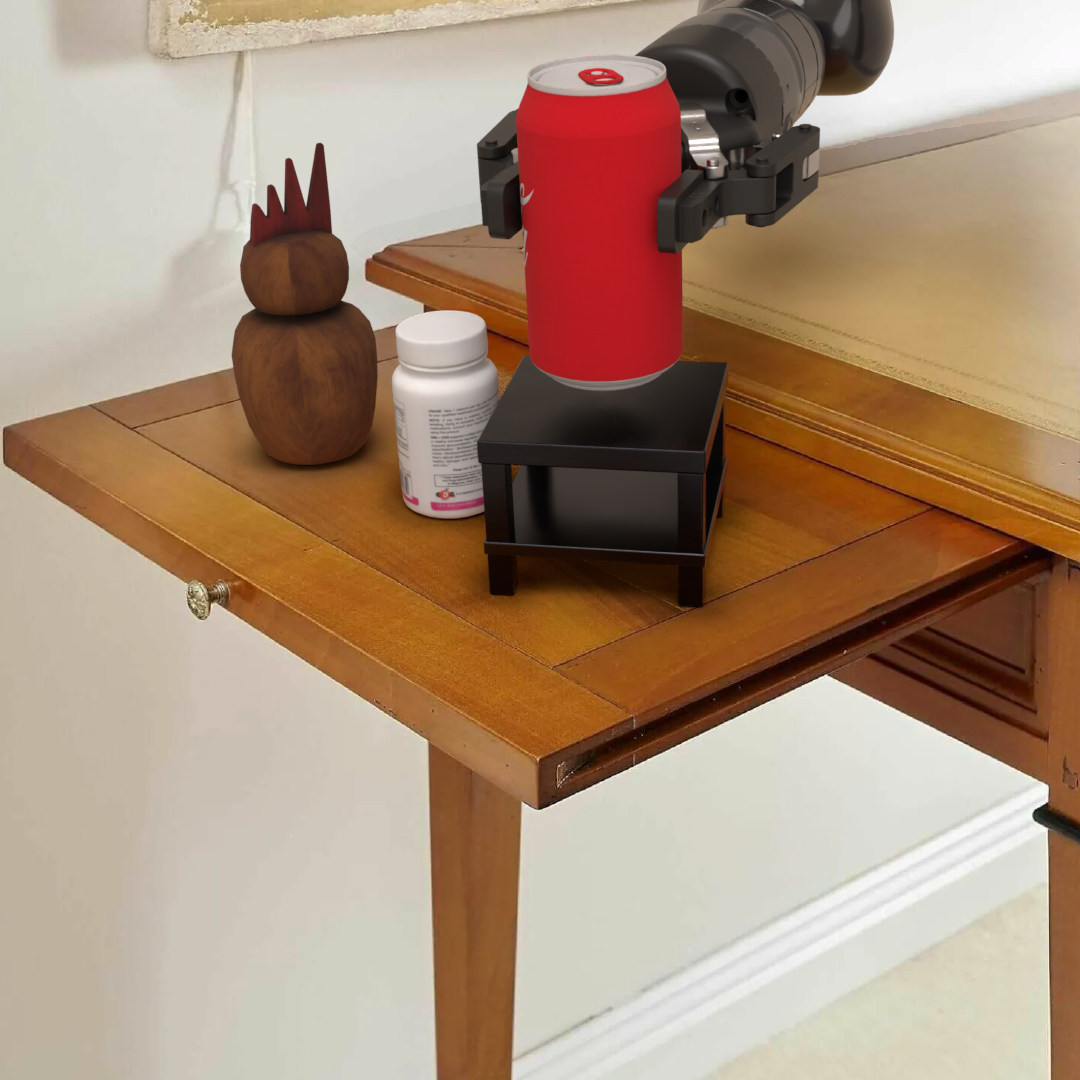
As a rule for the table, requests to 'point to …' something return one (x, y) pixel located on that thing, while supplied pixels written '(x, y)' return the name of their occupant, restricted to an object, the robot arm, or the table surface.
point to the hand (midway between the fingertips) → (580, 220)
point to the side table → (606, 473)
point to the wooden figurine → (302, 331)
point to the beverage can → (599, 220)
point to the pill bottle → (442, 410)
